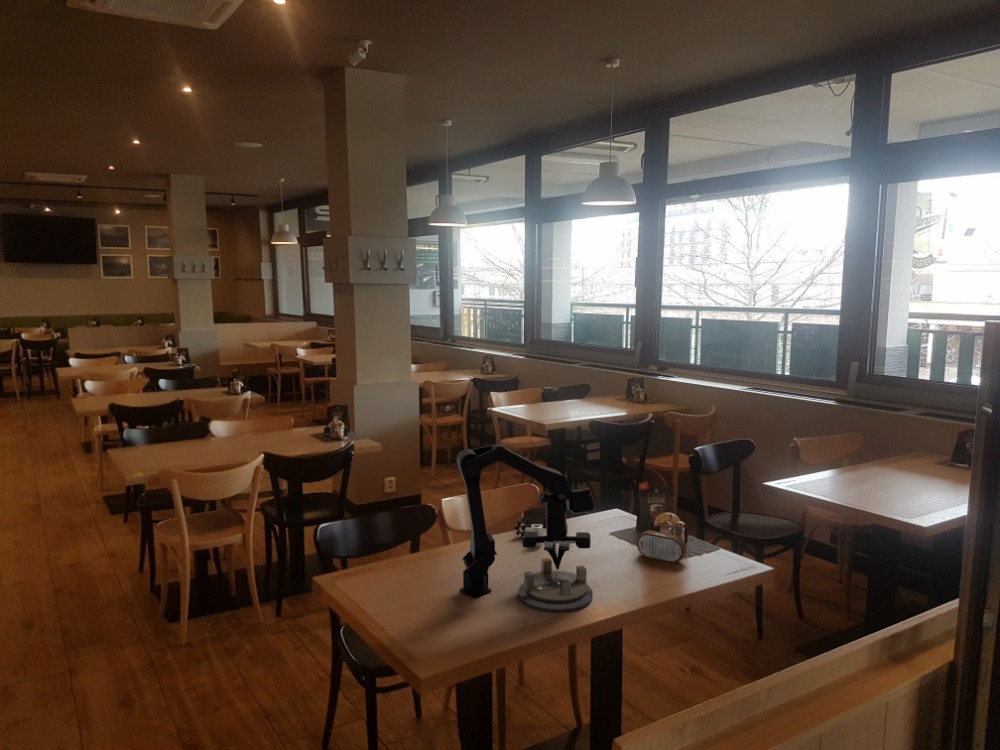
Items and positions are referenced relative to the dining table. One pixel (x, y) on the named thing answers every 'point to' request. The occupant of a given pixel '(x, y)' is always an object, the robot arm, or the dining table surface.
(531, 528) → the valve
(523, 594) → the base plate
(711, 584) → the dining table surface
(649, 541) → the tin
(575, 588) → the round fixture plate
